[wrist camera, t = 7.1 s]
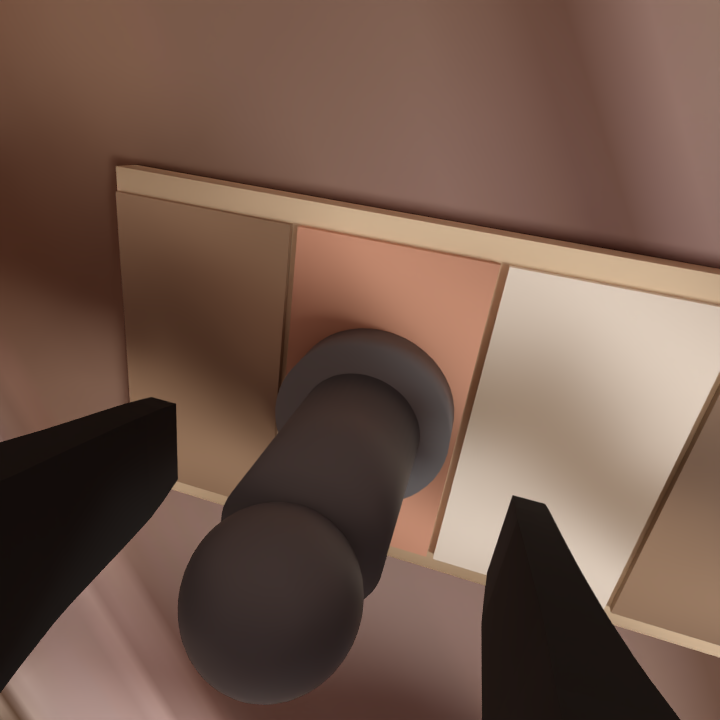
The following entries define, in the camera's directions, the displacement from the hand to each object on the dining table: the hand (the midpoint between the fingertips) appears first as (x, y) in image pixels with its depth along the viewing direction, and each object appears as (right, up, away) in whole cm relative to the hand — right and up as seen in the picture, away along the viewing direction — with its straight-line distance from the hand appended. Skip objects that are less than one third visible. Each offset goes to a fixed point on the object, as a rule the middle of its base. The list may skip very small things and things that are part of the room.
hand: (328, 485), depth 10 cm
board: (+6, 0, +3) cm, 7 cm away
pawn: (+1, +1, +3) cm, 3 cm away
